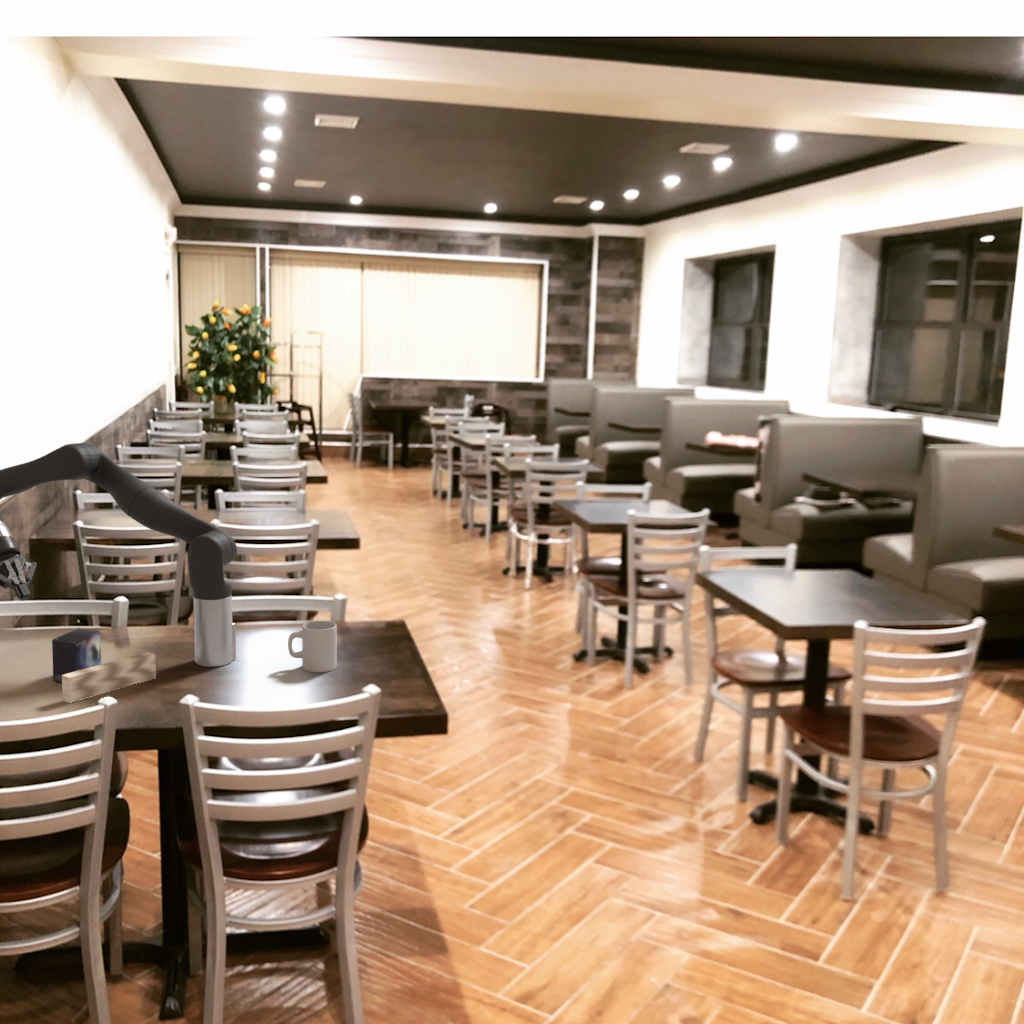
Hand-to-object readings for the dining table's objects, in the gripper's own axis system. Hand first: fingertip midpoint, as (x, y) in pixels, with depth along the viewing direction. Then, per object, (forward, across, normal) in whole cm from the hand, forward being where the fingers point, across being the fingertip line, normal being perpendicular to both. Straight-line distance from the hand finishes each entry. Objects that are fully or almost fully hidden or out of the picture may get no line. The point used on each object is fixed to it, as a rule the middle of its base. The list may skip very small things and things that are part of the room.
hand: (25, 598), depth 251 cm
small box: (+27, 0, -5) cm, 27 cm away
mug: (+52, +41, -31) cm, 73 cm away
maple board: (+36, 0, -14) cm, 39 cm away
